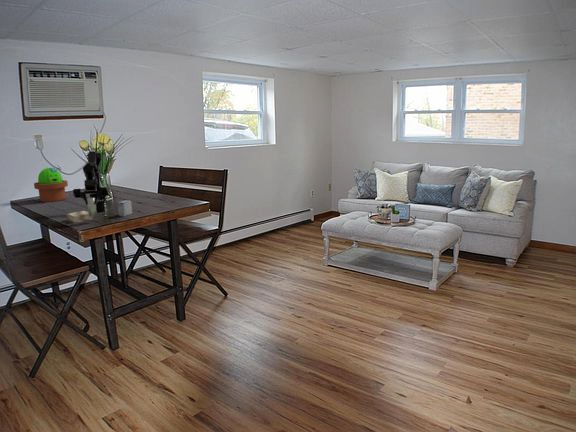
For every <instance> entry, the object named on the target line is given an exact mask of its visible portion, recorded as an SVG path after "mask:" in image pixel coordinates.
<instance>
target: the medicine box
mask: <svg viewBox="0 0 576 432" xmlns="http://www.w3.org/2000/svg"><path fill="white" fill-rule="evenodd" d="M132 205H133V203H132V200H128V199H127V200H126V199H125V200H122V201H119V202H117V209H118V211H117V212H118V217H126V216H129V215H132V214H133V207H132Z"/></svg>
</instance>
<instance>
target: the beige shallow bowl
mask: <svg viewBox="0 0 576 432" xmlns="http://www.w3.org/2000/svg"><path fill="white" fill-rule="evenodd" d="M66 220H67V221H69V222H71V223H73V224H76V223H82V222H86V221H92V220H94V215H93V216H89V214H88V210H87V211H86V210H81V211H74V212H70V213H66Z"/></svg>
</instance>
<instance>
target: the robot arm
mask: <svg viewBox="0 0 576 432" xmlns="http://www.w3.org/2000/svg"><path fill="white" fill-rule="evenodd" d="M86 157H87V158H86V159H87V163H85V165H84V166H83V167H82V171H83V173H84V177H85V179H84V180H83V181H84V189H81V188H73V190H72V194H73V196H74V198H76V199H77V198H79V199H83V200H84V202H85V205H86V206H87V199H86V198H88V197H87V195H89V198H90V197H95V204H96V211H97V213H102V212H104V213H105V212H106V209H105V208H106V207H105V203H106V202H107V197H108V196H109V195H110V192H109V188H108V187H107V186H101V178H100V176H101V175H100V168H101V167H100V166H101V165H102V161H103V156H102V153H100V152H97V151H88V153H87V154H86Z"/></svg>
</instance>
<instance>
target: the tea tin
mask: <svg viewBox="0 0 576 432" xmlns="http://www.w3.org/2000/svg"><path fill="white" fill-rule="evenodd" d="M86 199H87V205H86V206H87V212H88V214H89V216H93V217H94V216H97V215H98V212H97V211H96V204H95V197H90V196H89V197H87V198H86Z"/></svg>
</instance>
